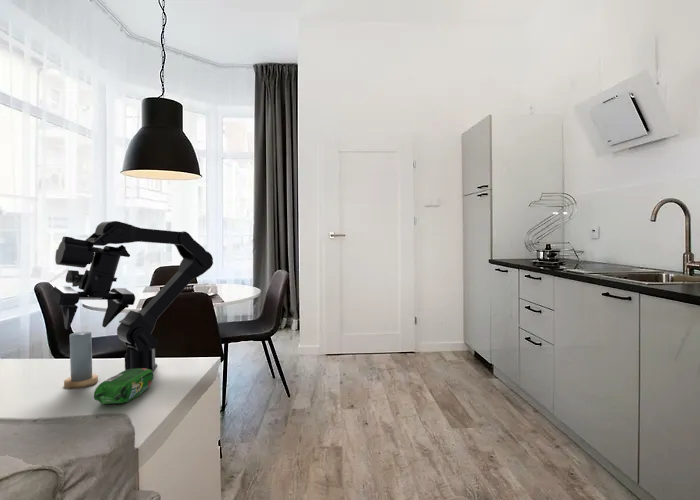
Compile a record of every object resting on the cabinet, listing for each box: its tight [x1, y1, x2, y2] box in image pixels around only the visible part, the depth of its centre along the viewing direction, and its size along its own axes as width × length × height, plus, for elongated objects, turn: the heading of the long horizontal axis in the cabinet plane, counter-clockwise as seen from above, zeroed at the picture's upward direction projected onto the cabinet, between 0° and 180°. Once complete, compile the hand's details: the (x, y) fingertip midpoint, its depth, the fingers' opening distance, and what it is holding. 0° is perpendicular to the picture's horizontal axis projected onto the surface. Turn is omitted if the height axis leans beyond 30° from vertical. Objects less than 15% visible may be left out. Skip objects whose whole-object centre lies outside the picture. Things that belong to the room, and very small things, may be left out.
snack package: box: [93, 368, 154, 405], centre depth 95 cm, size 7×16×5 cm, turn 176°
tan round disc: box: [63, 373, 99, 390], centre depth 104 cm, size 7×7×1 cm
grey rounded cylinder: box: [69, 331, 93, 382], centre depth 104 cm, size 4×4×11 cm
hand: (85, 327), depth 108 cm, fingers open, 9 cm apart
